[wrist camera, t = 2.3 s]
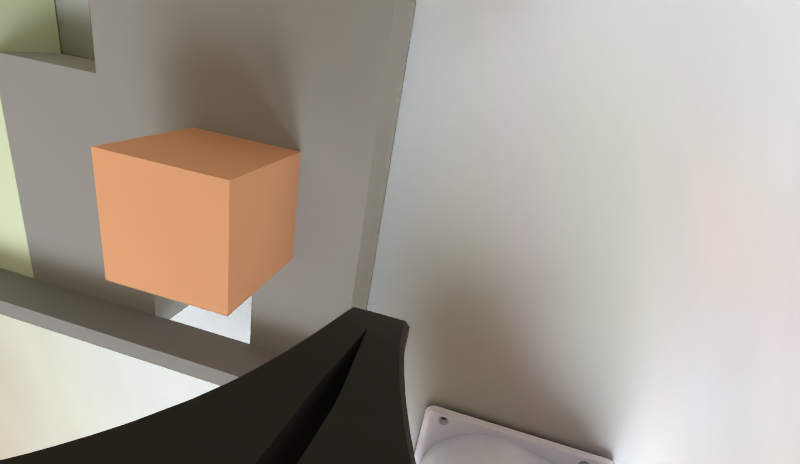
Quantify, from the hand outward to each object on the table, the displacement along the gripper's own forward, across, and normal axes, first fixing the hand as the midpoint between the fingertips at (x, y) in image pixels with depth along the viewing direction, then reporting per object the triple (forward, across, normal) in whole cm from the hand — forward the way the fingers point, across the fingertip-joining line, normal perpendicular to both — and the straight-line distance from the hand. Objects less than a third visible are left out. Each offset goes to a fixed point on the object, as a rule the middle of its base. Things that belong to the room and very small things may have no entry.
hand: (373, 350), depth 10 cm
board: (+10, +14, 0) cm, 17 cm away
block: (+7, +8, 0) cm, 10 cm away
